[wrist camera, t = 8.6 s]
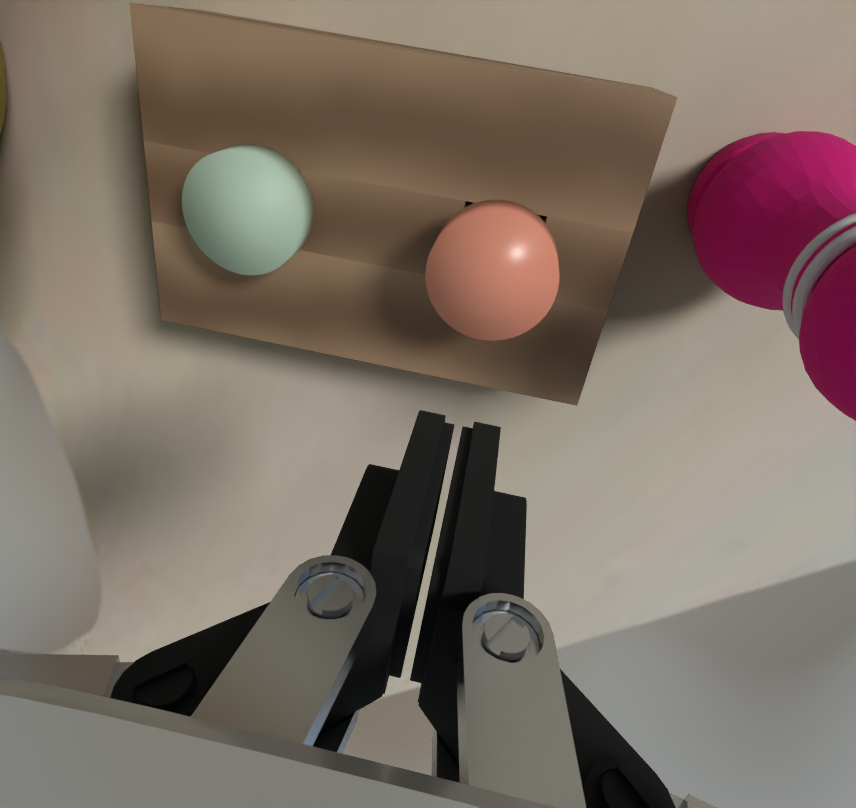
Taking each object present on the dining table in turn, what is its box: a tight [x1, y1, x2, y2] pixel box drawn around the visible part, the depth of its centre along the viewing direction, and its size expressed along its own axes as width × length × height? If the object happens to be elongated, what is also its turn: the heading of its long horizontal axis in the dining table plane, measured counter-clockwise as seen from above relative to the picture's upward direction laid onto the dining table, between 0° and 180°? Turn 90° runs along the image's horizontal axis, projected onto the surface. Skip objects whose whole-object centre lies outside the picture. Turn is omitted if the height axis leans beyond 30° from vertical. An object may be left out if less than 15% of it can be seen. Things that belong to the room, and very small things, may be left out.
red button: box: [425, 200, 559, 341], centre depth 27 cm, size 5×5×8 cm
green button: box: [182, 144, 314, 275], centre depth 29 cm, size 5×5×8 cm
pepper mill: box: [687, 131, 856, 421], centre depth 21 cm, size 7×7×20 cm
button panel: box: [130, 3, 677, 405], centre depth 30 cm, size 14×22×6 cm, turn 82°
